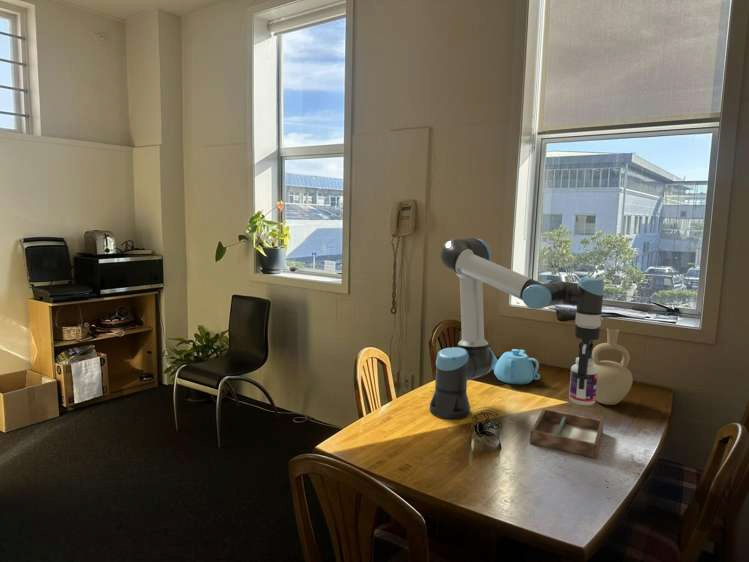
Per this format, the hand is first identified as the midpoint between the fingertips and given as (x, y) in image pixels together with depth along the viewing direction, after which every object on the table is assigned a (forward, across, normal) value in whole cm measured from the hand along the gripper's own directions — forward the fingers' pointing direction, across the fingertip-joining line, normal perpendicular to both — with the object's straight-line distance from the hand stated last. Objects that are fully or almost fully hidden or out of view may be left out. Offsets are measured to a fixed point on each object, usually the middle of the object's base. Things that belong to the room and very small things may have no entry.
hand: (582, 393), depth 166 cm
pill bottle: (+3, 0, 0) cm, 3 cm away
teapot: (+16, +53, +35) cm, 65 cm away
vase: (+16, +44, -5) cm, 47 cm away
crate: (+16, 0, +4) cm, 17 cm away
